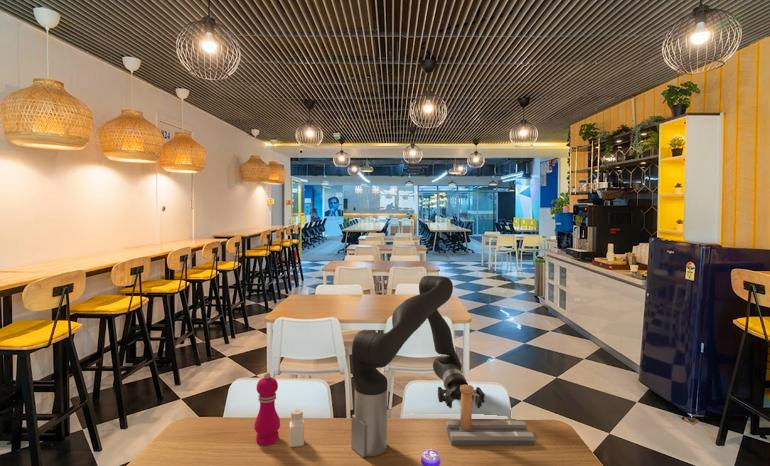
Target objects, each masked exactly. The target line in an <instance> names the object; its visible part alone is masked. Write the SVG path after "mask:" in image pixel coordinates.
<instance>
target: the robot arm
mask: <svg viewBox="0 0 770 466" xmlns="http://www.w3.org/2000/svg"><path fill="white" fill-rule="evenodd" d="M453 291H454V285H453V282H452V280H451V279H450V278H449V277H446V276H443V275H424V276H422V277H421V279H420V281H419V284H418V292H419V294H417V295H414V296H412V297H409V298H407V299H405V300H404V301H402V303H400V304H399V305H398V306H397V307H395V309H394V310H393V312H392V318H391V325H392V327H391V329H390V330H389V331H387V332H385V333H382V332H379V331H378V332H377V331H372V330H367V329H362V330H359V331H358V332H356V334H355V336H354V337H353V339H352V340H353V341H352V345H351V364H352V365H351V367H352V380H353V383H354V414H352V415H351V427H350V428H351V432H350V433H351V434H350V435H351V437H350V438H351V439H350V440H351V443H350V444H351V445H350V446H351V449H352V450H353V451H354V452H356V453H357V454H358V455H360V457H362V458H365V457H377V456H380V455H382V454H384V453H385V452H386V450H387V447H388V446H387V445H388V440H387V439H388V383H389V382H388V379H387V376H385V375H384V374H383V373H382V372H380V371H379V370H378V369H380V368H385V367H387V366H388V365H389V364H390V363H391V362H392V361H393V359H394V358H395V357H396V355H397V354H398V353H399V351H400V350H401V349H402V347H403V346H404V344H405V343H406V342H407V341H408V340H409V338H410V337H411V336H412V335H413V334H414V333H415V332H416V331H417V330H418V329H420V327H421V326H422V325H423V324H424V323H425V321H426V320H428V324H429V326H430V330H431V334H432V340H433V345H434V350H435V353H437V355H441V356H440V357H436V358H434V360H433V363H432V369H433V372H434V373H435V375H436V376H437V377H438V378H439V379H440V380H442V384H443V387H444V388H442V386H438V387H437V398H438V403H443V402H444V403H445V405H446V406H447V407H449V409H452V408H453V402H454V401H456V400H460V401H461V392H460V386H461V385H465V384H466V385H469V384H468V381H467V379H466V378H465V375H464V374H463V373H462V366H463V365H462V361H461V360H460V357H459V356H458V354H457V351H456V349H455V346H454V341H453V335H452V330H451V327H450V326H449V324H448V322H447V321H446V320H445V318H444V317H443V316H442V315H441V313H440V311H439V310H438V309H439V308H441V307H442V306H443V305H445V304H446V303H447V302H448V301H449V300H450V299H451V297H452V294H453ZM442 355H443V356H442ZM377 368H378V369H377ZM472 403H474V404H475V407H476V408H477V409H481V408H482V407H483V406H482V404H484V403H485V392H483V390H482V389H481V388H480V387H479V386H477V387H475V389H474V392H473V393H472Z"/></svg>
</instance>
